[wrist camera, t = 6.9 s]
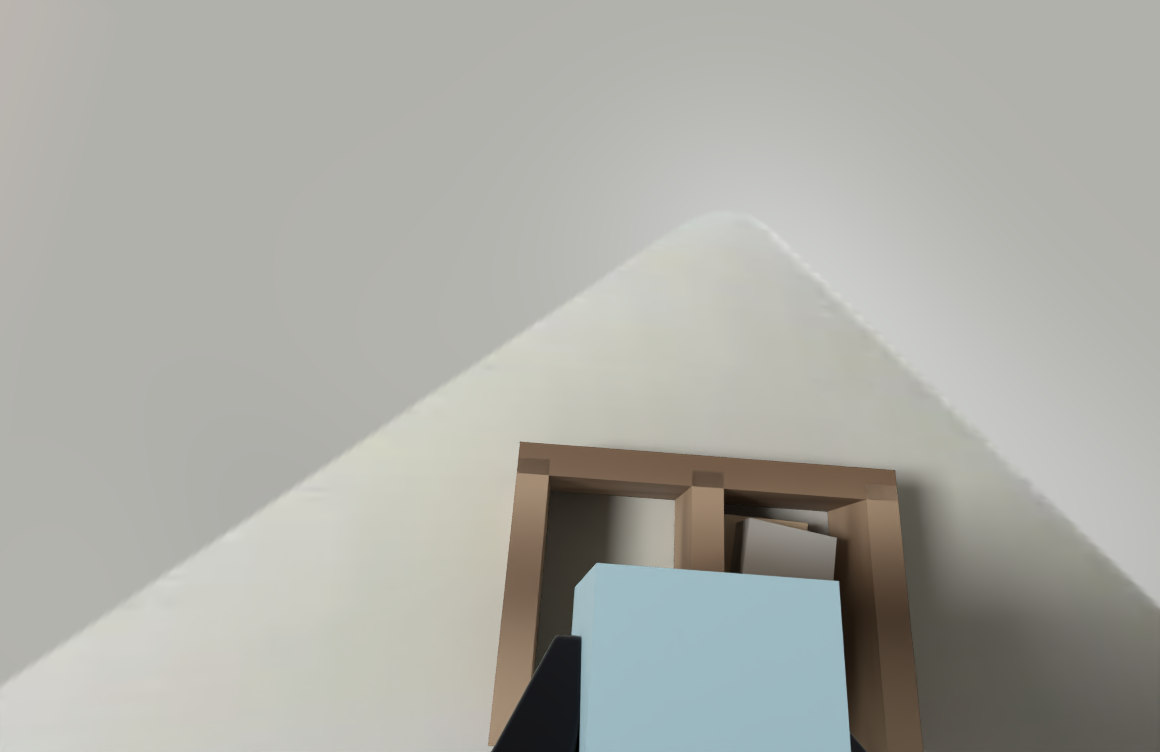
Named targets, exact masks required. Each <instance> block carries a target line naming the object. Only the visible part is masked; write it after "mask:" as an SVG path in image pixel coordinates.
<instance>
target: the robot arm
mask: <svg viewBox="0 0 1160 752" xmlns="http://www.w3.org/2000/svg"><path fill="white" fill-rule="evenodd" d="M581 648H582V637H581V636H577V635H564V634H558V635H556V636H555V637H554V638H553V640H552V642H551V644H550V645H549V647H548V649H547V651H546V653H545V655H544V656H543V658H542V660H541V662H540V664H539V665H538V667H537V669H536V671H535V673H534V675H533V676H532V678H531V680H530V682H529V684H528V686H527V687H526V689H525V691H524V693H523V695H522V697H521V698H520V700H519V702H518V704H517V706H516V707H515V709H514V711H513V713H512V715H511V717H510V718H509V720H508V722H507V724H506V726H505V728H504V729H503V731H502V733H501V735H500V737H499V739H498V740H497V742H496V744H495V746H494V748H493V749H492V751H491V752H577V749H578V739H579V730H580V700H581ZM850 745H851V752H867V751H866V750H865V749H864V747H863V746H862V745H861V744H860V743H859V742H858V740H857V739H856V738H855V737H854V736H853V734H852V733H851V732H850Z"/></svg>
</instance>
